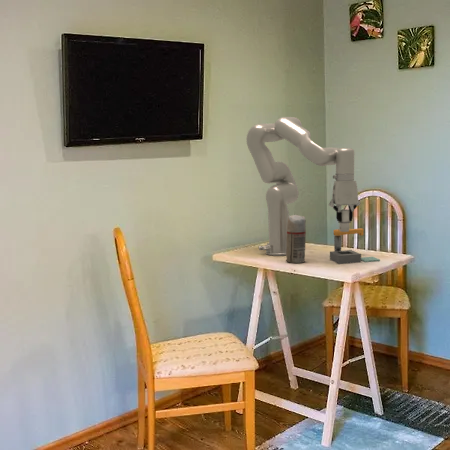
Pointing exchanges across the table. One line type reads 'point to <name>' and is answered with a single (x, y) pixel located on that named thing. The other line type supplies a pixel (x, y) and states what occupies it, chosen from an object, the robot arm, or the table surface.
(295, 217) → the spray can
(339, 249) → the post
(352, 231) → the orange rectangular bar
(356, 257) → the socket block
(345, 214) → the plug
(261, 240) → the table surface
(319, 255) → the table surface
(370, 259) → the mat
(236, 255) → the table surface
